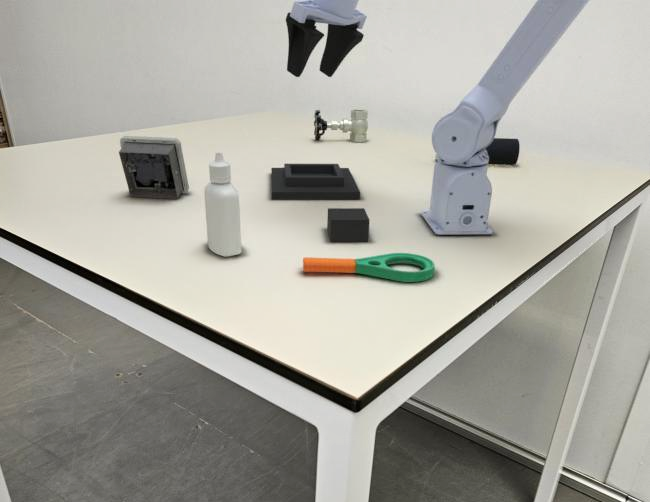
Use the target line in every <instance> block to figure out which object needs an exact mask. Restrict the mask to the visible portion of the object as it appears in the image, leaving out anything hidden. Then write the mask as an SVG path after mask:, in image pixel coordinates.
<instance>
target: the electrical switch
mask: <svg viewBox="0 0 650 502" xmlns="http://www.w3.org/2000/svg"><path fill="white" fill-rule="evenodd" d="M119 145H120V150H119V151H118V156H119V158H120V162H121V166H122V169H123V170H122V171H123V173H124V177H125V181H126V184H127V188H128V192H129V195H130V197H133V198H153V199H173V200H178V199H179V197H180V195H181V194H182V195H185V194H187V193H188V192H189V189H190V185H189V179H188V175H187V169H186V163H185V158H184V152H183V148H182V143H181V140H179V139H178V138H177V137H163V136H161V137H159V136H140V135H139V136H138V135H137V136H136V135H123V136H122V137H121V138H120V139H119Z"/></svg>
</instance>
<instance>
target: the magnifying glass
mask: <svg viewBox="0 0 650 502" xmlns="http://www.w3.org/2000/svg"><path fill="white" fill-rule="evenodd" d="M391 264H410V265H415V266H418V267H421V268H422V269H421V270H415V271H410V270H409V271H408V270H399V269H394V268H391V267H389V266H388V265H391ZM302 270H303V272H308V273H309V272H312V273H313V272H314V273H317V272H318V273H343V274H345V273H346V274H354V273H356V274H361V275H365V276H373V277H376V278H382V279H386V280H390V281H391V280H392V281H395V282H404V283H414V282H415V283H416V282H423V281H428V280H430V279H431V278H432V277H433V276H434V274H435V263H434V261H433V260H432V259H431V258H429V257H426V256H423V255H420V254H416V253H411V252H410V253H409V252H390V253H384V254H379V255H372V256H366V257H361V258H338V257H337V258H335V257H334V258H333V257H307V256H306V257H305V256H304V257H303V258H302Z"/></svg>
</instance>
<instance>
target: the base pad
mask: <svg viewBox="0 0 650 502" xmlns="http://www.w3.org/2000/svg"><path fill="white" fill-rule="evenodd" d="M283 166H284V167H271V200H360V199H361V191H360V188H359V187H358V185H357V183H356V181H355V178H354V176H353V174H352V173H351V170H350V169H349V167H340V165H339V163H284V164H283Z"/></svg>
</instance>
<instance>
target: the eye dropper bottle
mask: <svg viewBox="0 0 650 502" xmlns="http://www.w3.org/2000/svg"><path fill="white" fill-rule="evenodd" d="M208 170H209V171H208V172H209V181H210V182H209V183H207V184H206V185H205V186H204V191H203V192H204V194H203V195H204V205H205V206H204V207H205V209H204V210H205V221H206V234H207V235H206V237H207V246H208V248H209V250H210V251H211V252H213V253H214V254H217V255H218V256H221V257H225V258H226V257H227V258H228V257H233V256H238V255H240V254H242V230H241V210H240V209H241V208H240V207H241V206H240V197H239V195H240V194H239V192H238V190H237V187H236V186H235V185H234V184H233V183H232V182H231V181H232V177H231V176H232V175H231V173H232V172H231V164H230V162H227V161H226V160H225V159H224V155H223V151H221V150H220V151H219V150H217V151H215V155H214V160H213V161H212V162H210V163H209V165H208Z"/></svg>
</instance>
